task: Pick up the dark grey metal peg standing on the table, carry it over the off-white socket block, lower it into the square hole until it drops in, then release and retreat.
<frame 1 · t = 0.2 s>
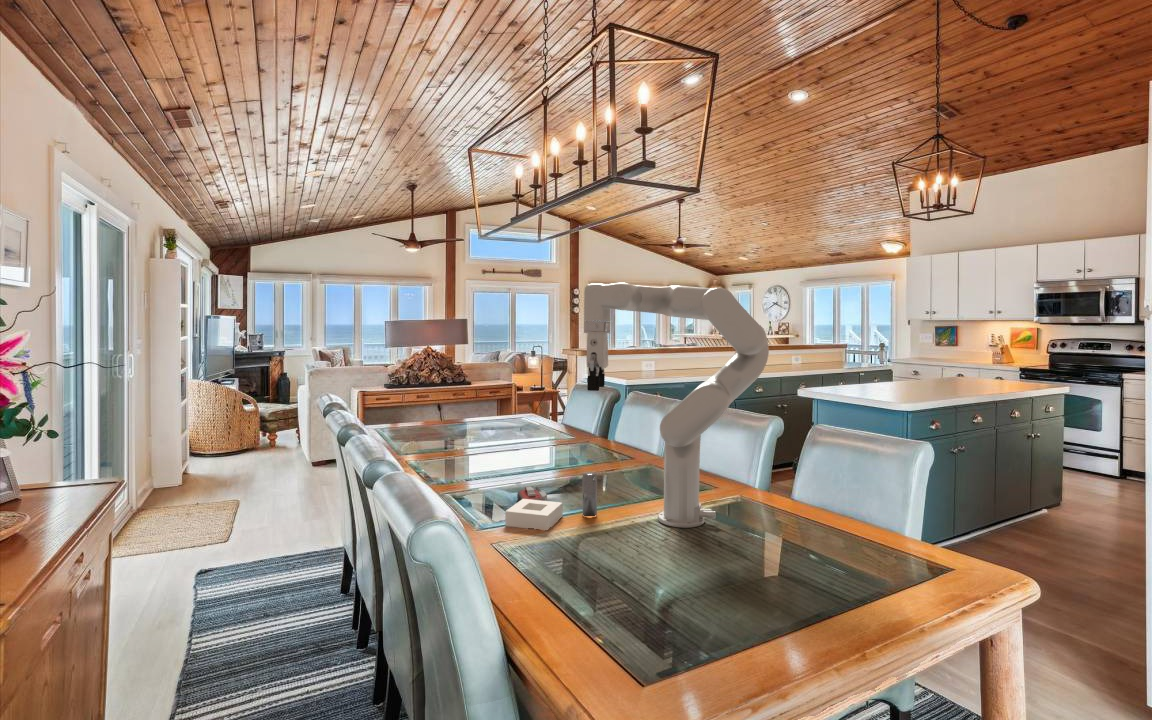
hand: (596, 388, 169), 36 cm above the table, tool pointing down, fingers open, 9 cm apart
walkie-talkie: (532, 502, 183), on the table
socket block: (534, 521, 163), on the table
peg: (589, 515, 168), on the table
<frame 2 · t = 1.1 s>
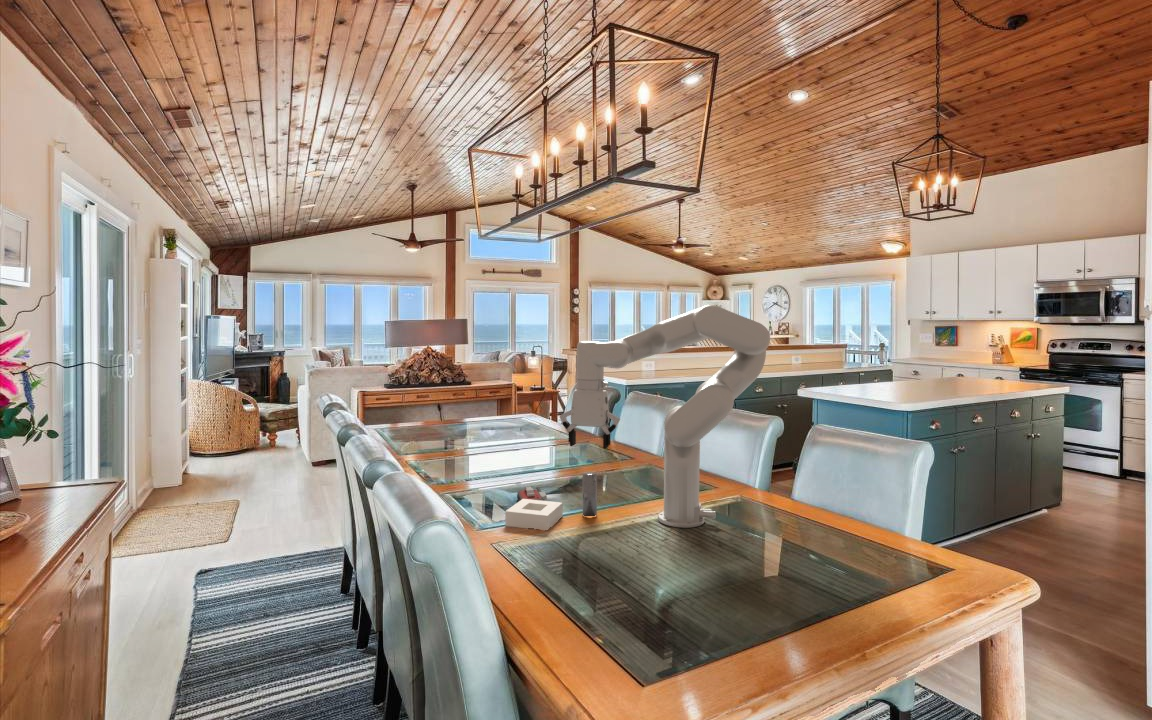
hand: (589, 446, 167), 20 cm above the table, tool pointing down, fingers open, 9 cm apart
nothing on the table moved.
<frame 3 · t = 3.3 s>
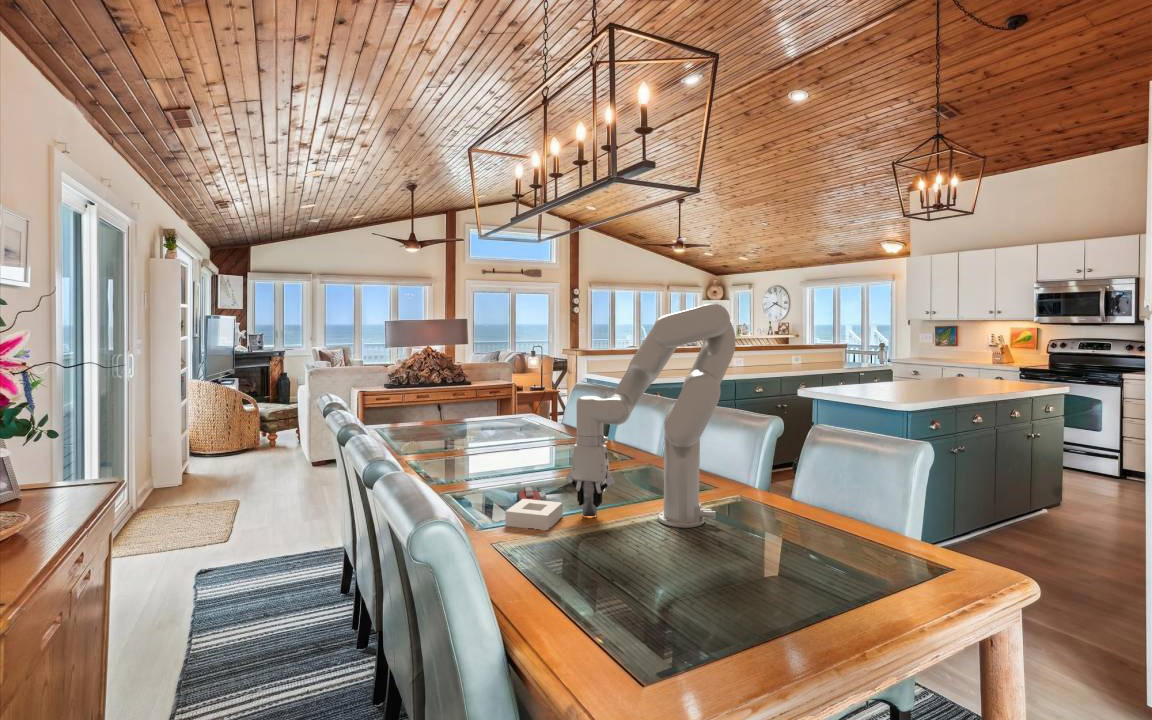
hand: (589, 504, 168), 3 cm above the table, tool pointing down, fingers closed on peg, 4 cm apart
peg: (589, 515, 168), on the table, touching gripper
everything else where it was.
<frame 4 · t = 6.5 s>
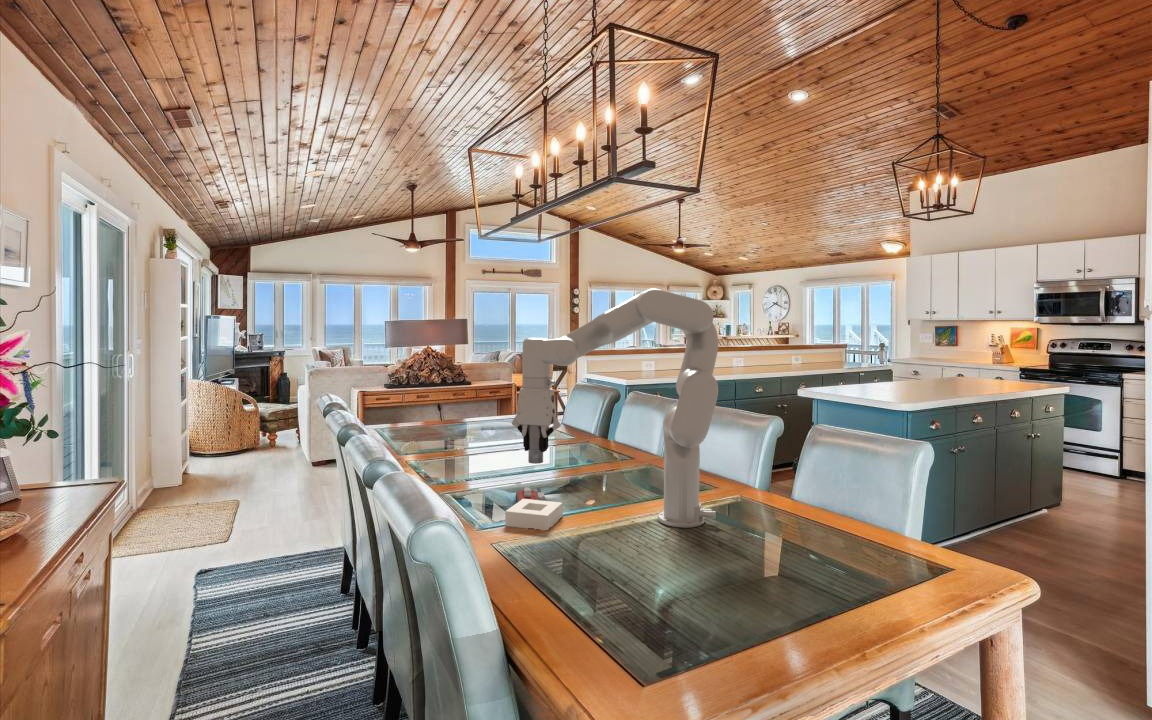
hand: (535, 450, 162), 20 cm above the table, tool pointing down, fingers closed on peg, 4 cm apart
peg: (535, 461, 163), point 16 cm above the table, touching gripper
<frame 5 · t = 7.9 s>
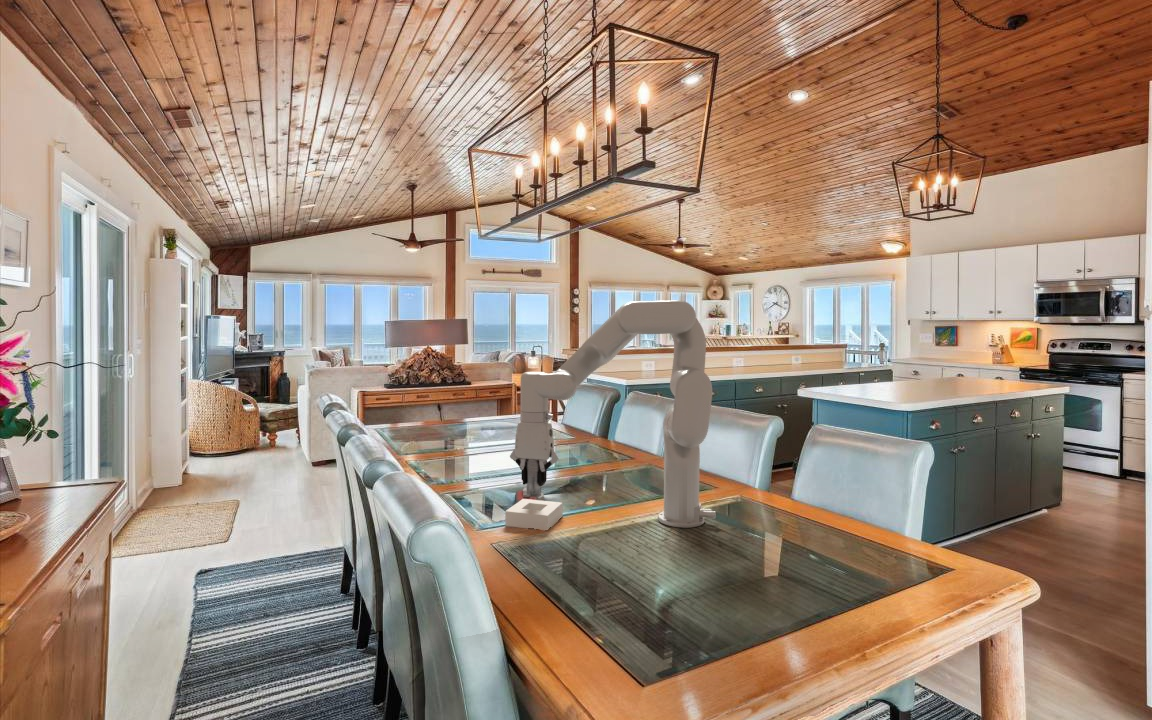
hand: (533, 483, 163), 10 cm above the table, tool pointing down, fingers closed on peg, 4 cm apart
peg: (533, 495, 163), point 7 cm above the table, touching gripper
when the fingers open (6 cm above the table, at t = 9.3 s): peg drops 2 cm, resting in socket block.
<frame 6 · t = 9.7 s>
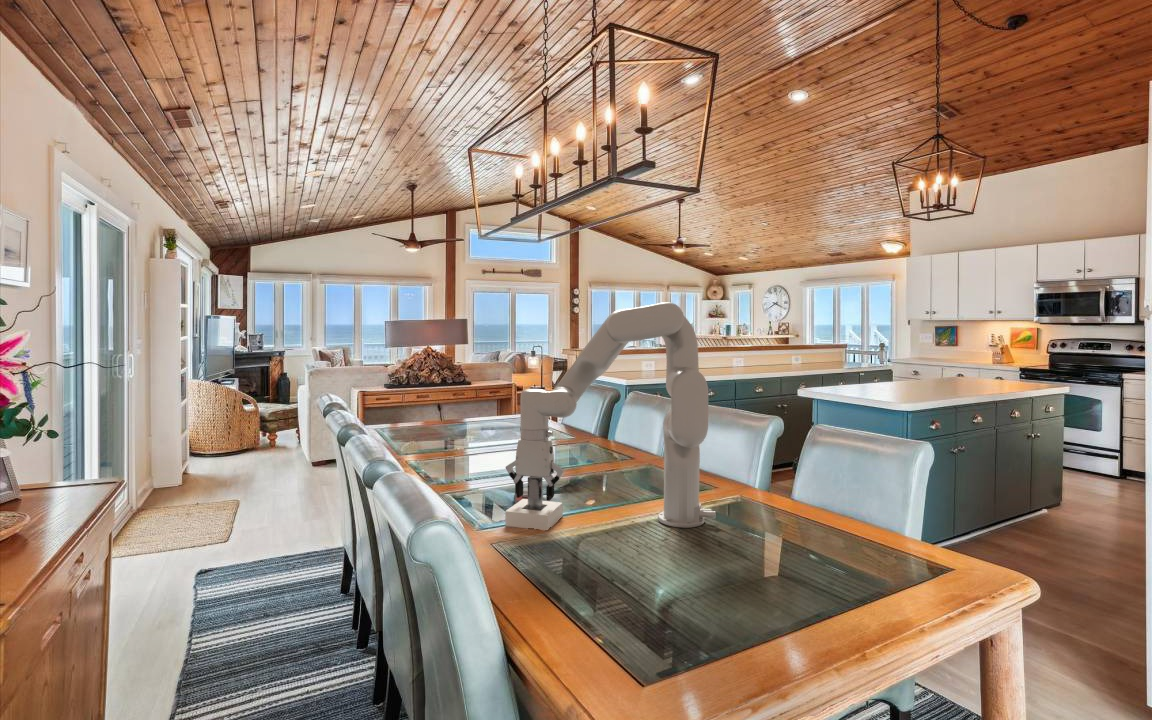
hand: (534, 497, 163), 7 cm above the table, tool pointing down, fingers open, 8 cm apart
peg: (535, 521, 163), resting in socket block
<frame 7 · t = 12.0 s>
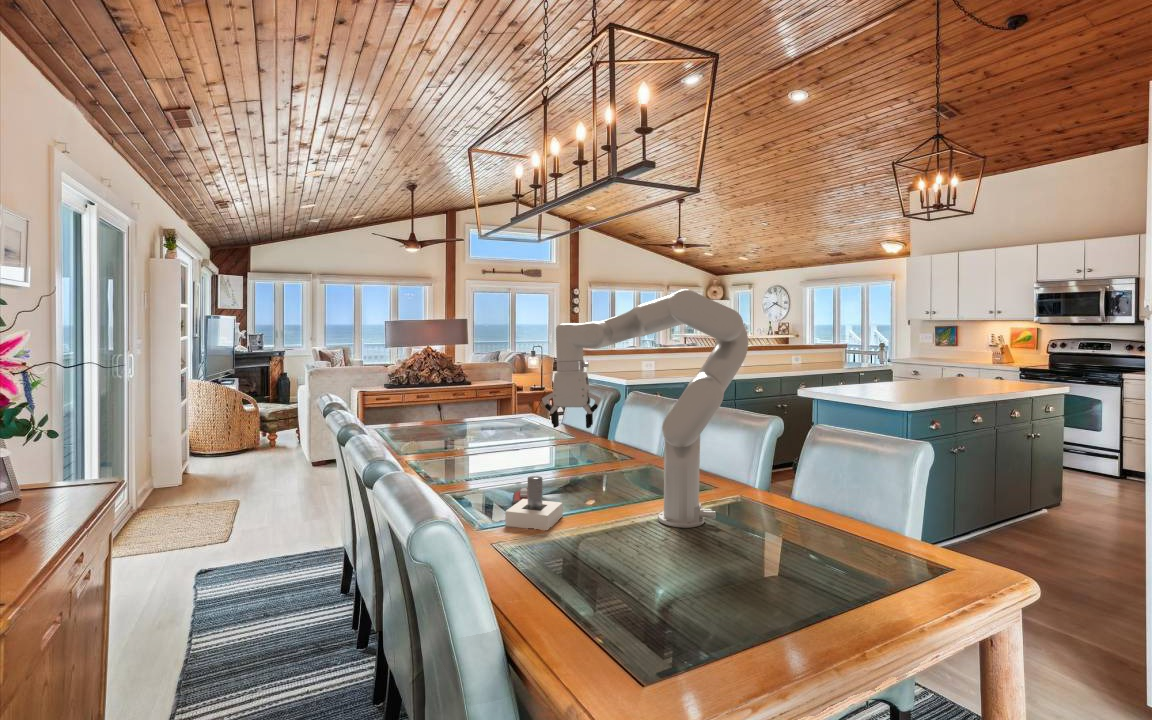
hand: (572, 427, 169), 25 cm above the table, tool pointing down, fingers open, 9 cm apart
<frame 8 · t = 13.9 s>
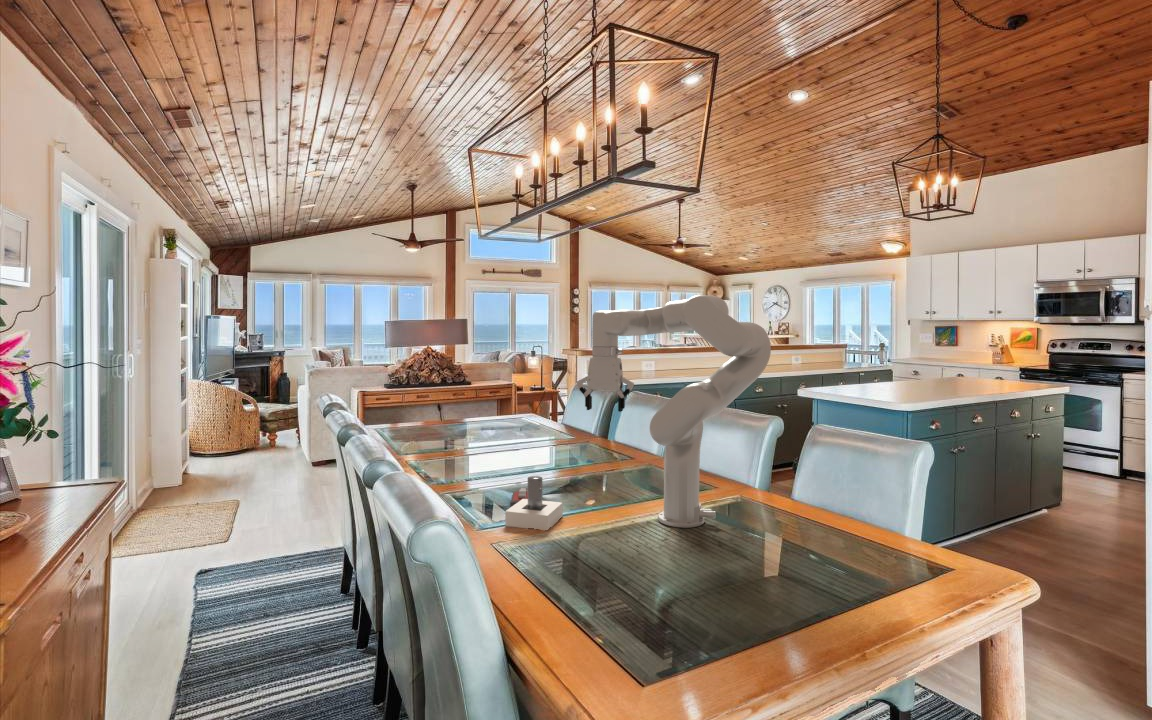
hand: (604, 410, 177), 28 cm above the table, tool pointing down, fingers open, 9 cm apart
at the end: peg 0.1 cm from the socket block (horizontally); peg resting in socket block; peg tilted 0° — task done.
